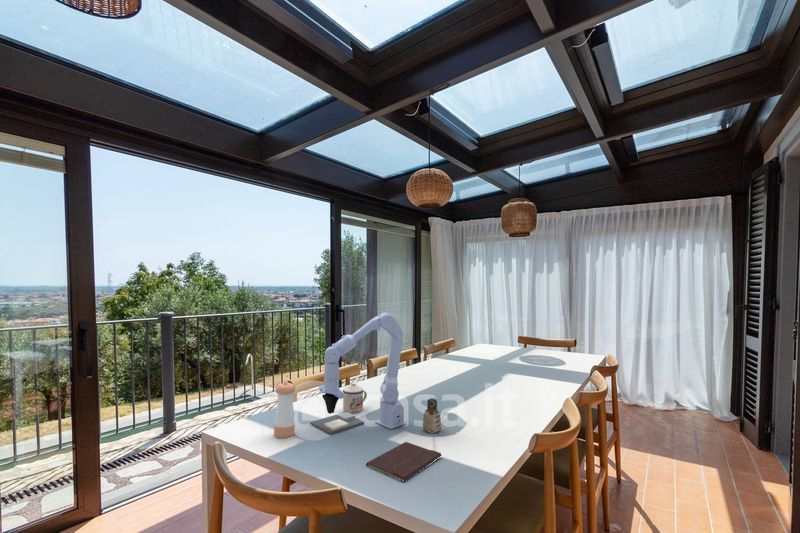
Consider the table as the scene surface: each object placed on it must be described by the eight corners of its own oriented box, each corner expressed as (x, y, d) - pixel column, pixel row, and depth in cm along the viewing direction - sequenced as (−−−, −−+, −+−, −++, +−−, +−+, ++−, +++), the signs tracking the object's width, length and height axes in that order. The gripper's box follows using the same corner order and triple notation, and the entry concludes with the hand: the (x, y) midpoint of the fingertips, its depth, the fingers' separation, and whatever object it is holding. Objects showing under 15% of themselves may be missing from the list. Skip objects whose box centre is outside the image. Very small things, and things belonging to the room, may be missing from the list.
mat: (363, 423, 150) (364, 421, 150) (330, 434, 139) (330, 432, 139) (343, 414, 160) (343, 412, 160) (310, 424, 149) (310, 422, 149)
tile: (339, 422, 150) (348, 426, 145) (324, 426, 145) (333, 431, 140) (339, 419, 150) (348, 423, 145) (324, 423, 145) (333, 428, 140)
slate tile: (355, 418, 153) (355, 415, 153) (345, 421, 150) (345, 418, 150) (346, 414, 158) (346, 411, 158) (336, 417, 154) (336, 414, 154)
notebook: (366, 467, 116) (366, 460, 116) (405, 445, 132) (405, 440, 132) (404, 484, 107) (404, 477, 107) (441, 459, 122) (441, 452, 122)
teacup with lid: (350, 415, 160) (351, 387, 160) (338, 409, 166) (338, 382, 167) (372, 408, 168) (372, 382, 168) (360, 403, 175) (360, 378, 175)
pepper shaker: (273, 431, 141) (275, 380, 142) (293, 429, 144) (294, 378, 145) (274, 439, 135) (275, 385, 135) (295, 436, 137) (296, 383, 138)
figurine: (442, 427, 148) (442, 396, 148) (439, 434, 141) (439, 401, 142) (424, 425, 150) (425, 394, 150) (421, 431, 143) (421, 399, 143)
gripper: (312, 376, 151) (312, 410, 150) (333, 383, 140) (332, 420, 140) (327, 373, 156) (327, 406, 155) (349, 380, 145) (348, 415, 145)
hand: (330, 412), depth 148 cm, fingers closed
